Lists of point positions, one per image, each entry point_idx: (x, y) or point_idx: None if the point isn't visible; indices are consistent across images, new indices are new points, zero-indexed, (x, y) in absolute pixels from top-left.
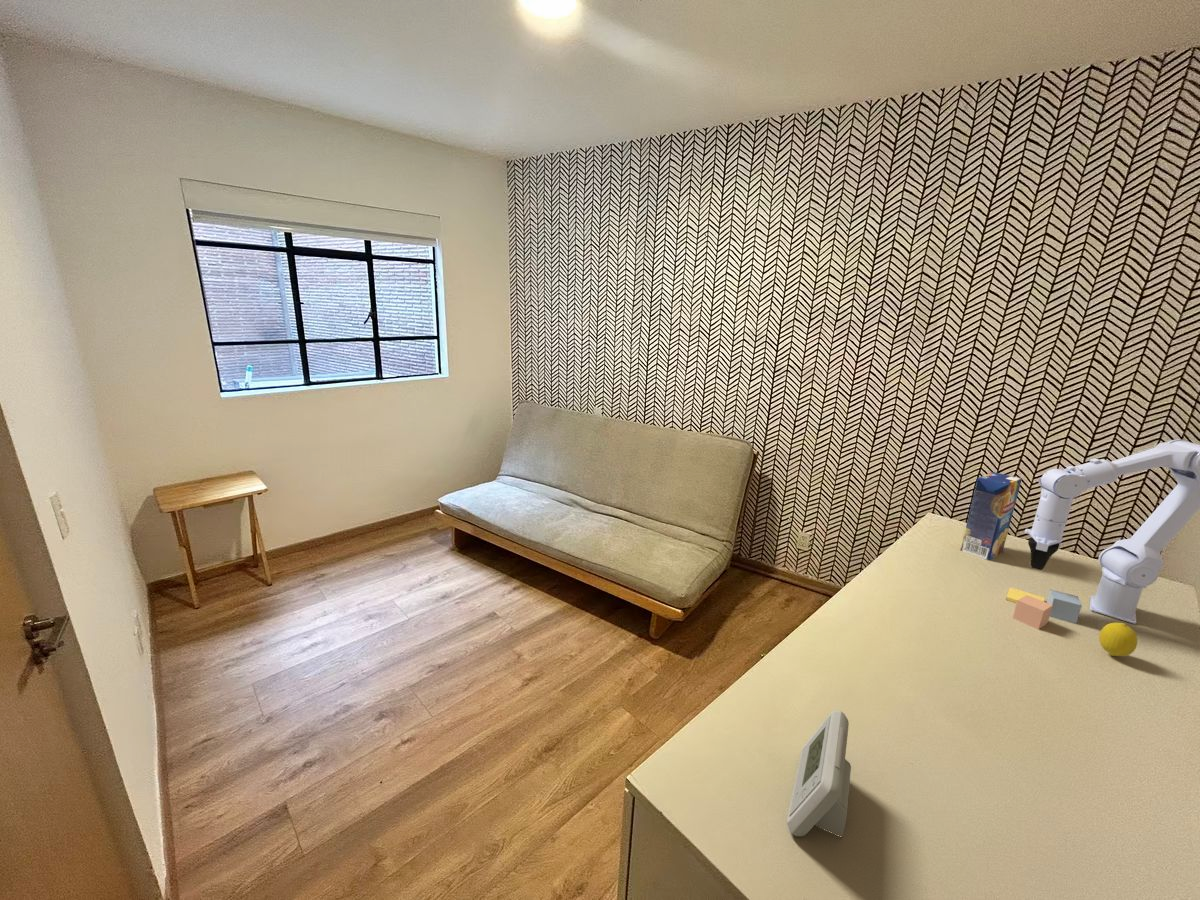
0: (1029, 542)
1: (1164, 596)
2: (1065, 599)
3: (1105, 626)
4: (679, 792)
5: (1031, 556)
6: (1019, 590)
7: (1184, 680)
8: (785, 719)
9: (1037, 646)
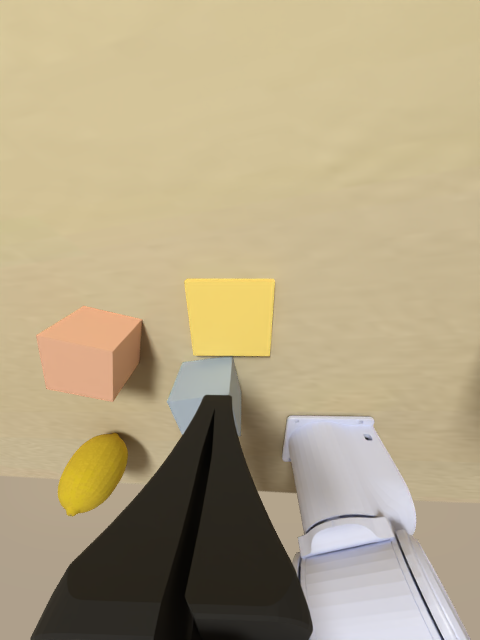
0: (39, 621)
1: (460, 485)
2: (188, 419)
3: (74, 477)
4: None
5: (173, 449)
6: (269, 305)
7: (136, 480)
8: None
9: (4, 355)
